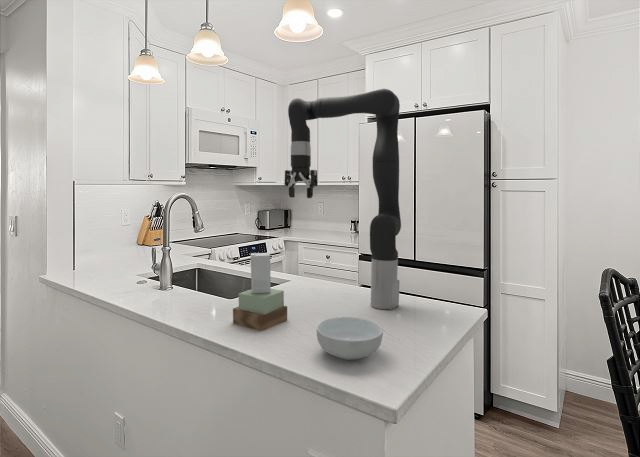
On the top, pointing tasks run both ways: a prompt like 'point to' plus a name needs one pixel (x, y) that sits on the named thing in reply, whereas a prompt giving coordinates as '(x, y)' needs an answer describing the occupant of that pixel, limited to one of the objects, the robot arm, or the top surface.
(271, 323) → the tower base
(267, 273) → the skincare box
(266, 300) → the tower top
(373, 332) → the cereal bowl
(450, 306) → the top surface
